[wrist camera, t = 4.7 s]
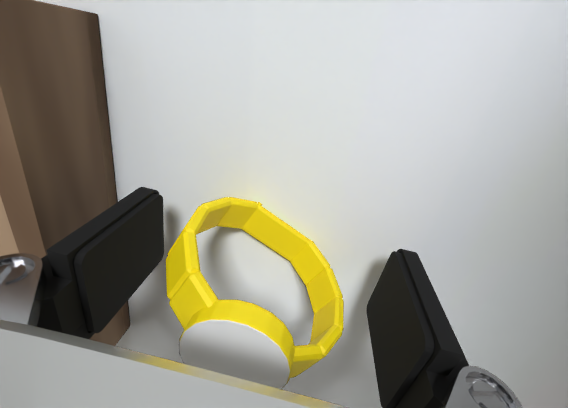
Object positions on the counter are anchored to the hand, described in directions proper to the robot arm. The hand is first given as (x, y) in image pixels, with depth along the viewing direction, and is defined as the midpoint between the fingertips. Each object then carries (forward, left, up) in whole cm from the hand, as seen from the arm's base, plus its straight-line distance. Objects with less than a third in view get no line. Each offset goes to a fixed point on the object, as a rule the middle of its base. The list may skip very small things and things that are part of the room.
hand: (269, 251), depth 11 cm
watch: (0, 0, -2) cm, 2 cm away
